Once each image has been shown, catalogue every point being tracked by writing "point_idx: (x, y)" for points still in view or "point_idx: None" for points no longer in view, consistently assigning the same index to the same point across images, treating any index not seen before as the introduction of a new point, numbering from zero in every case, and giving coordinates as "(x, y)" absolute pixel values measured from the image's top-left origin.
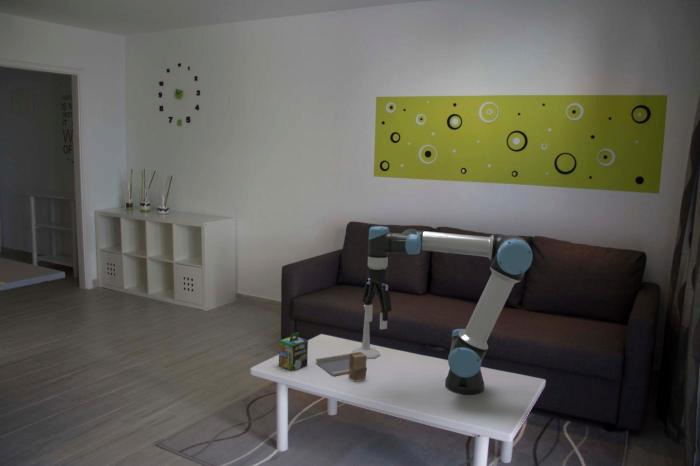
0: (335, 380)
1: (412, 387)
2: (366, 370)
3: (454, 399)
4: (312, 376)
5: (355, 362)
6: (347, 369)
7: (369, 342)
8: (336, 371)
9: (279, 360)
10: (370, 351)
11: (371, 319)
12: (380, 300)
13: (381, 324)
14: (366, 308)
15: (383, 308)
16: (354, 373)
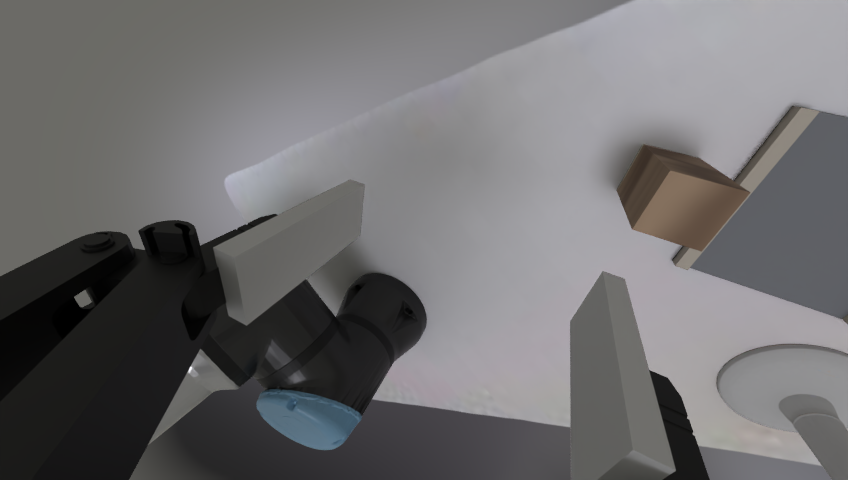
0: (742, 80)
1: (457, 237)
2: (673, 259)
3: (354, 241)
4: None
5: (663, 163)
6: (763, 213)
7: (801, 435)
8: (810, 158)
9: None
10: (764, 393)
11: (573, 328)
12: (11, 406)
13: (322, 198)
14: (627, 400)
15: (132, 281)
16: (656, 151)
